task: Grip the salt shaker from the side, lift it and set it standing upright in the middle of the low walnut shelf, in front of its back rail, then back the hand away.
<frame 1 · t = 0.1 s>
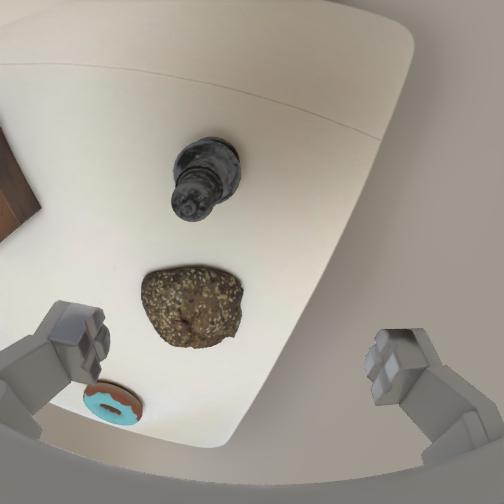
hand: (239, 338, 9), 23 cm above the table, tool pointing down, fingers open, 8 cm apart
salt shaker: (212, 163, 29), on the table
donut: (115, 396, 51), on the table
bread roll: (194, 305, 38), on the table
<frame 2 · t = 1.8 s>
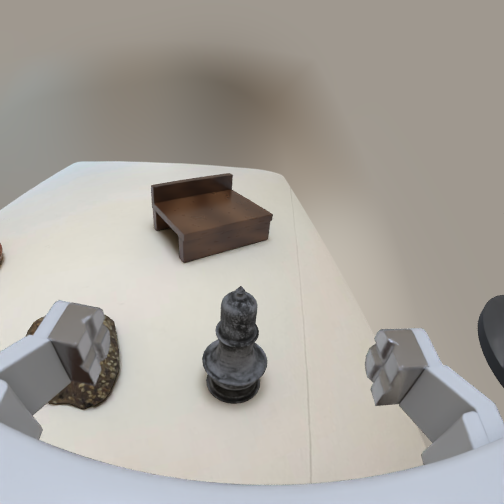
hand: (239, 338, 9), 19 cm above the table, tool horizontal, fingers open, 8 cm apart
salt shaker: (233, 382, 29), on the table
shelf: (209, 233, 55), on the table
bread roll: (68, 362, 28), on the table
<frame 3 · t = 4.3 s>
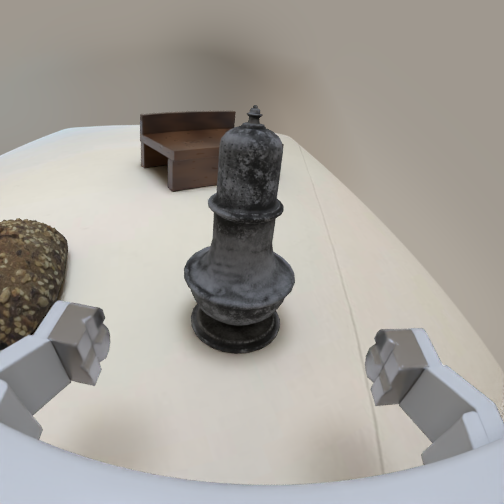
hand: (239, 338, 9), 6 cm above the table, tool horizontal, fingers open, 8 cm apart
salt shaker: (235, 322, 18), on the table
shelf: (206, 169, 44), on the table
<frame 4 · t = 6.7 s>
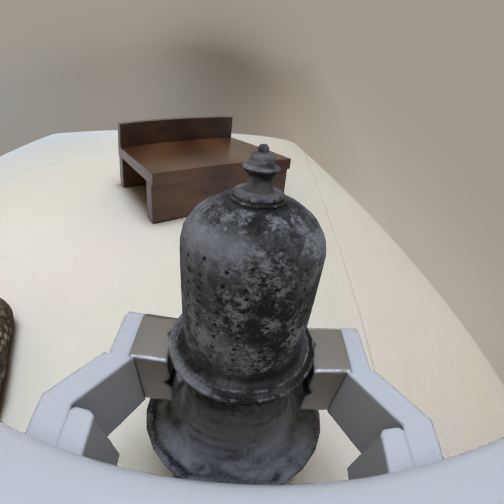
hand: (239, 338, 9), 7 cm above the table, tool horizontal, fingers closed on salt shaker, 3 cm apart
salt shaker: (229, 453, 11), on the table, touching gripper
shelf: (197, 189, 37), on the table
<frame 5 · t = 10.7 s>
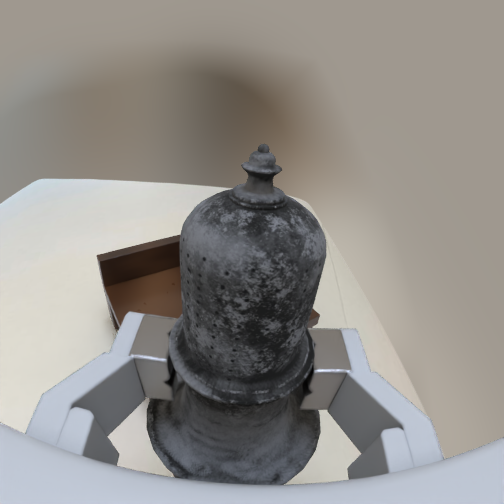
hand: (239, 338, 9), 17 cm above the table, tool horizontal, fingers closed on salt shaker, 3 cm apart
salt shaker: (229, 454, 11), point 10 cm above the table, touching gripper
shelf: (204, 336, 30), on the table
when the fingers open (12 cm above the table, at t = 14.7 s): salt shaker stays where it is, resting on shelf.
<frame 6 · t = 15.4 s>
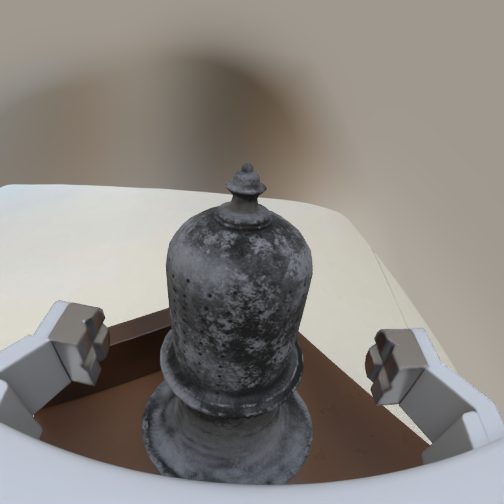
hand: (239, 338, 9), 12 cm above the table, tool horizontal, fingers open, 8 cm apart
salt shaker: (225, 459, 11), point 5 cm above the table, touching shelf
shelf: (225, 483, 14), on the table
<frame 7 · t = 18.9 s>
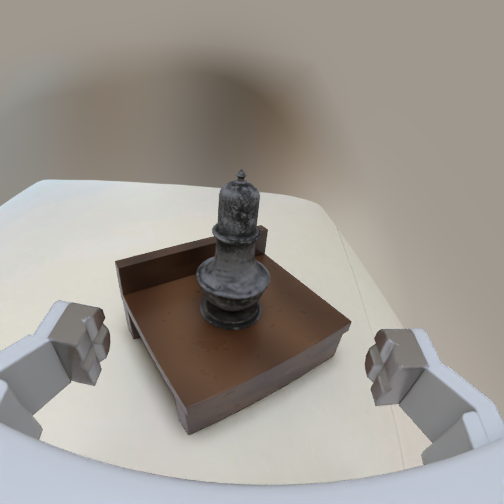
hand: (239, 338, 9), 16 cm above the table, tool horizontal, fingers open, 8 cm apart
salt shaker: (230, 309, 27), point 5 cm above the table, touching shelf
shelf: (229, 345, 29), on the table
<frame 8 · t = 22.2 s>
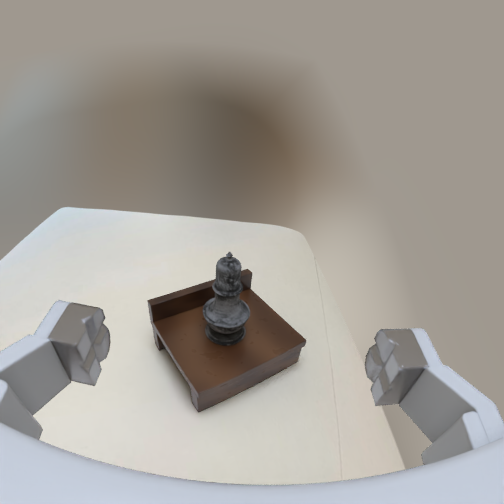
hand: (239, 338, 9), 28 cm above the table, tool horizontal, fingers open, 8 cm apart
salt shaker: (225, 331, 40), point 5 cm above the table, touching shelf
shelf: (225, 354, 43), on the table
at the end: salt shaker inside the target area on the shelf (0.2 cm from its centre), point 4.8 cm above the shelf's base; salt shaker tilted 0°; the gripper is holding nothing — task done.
